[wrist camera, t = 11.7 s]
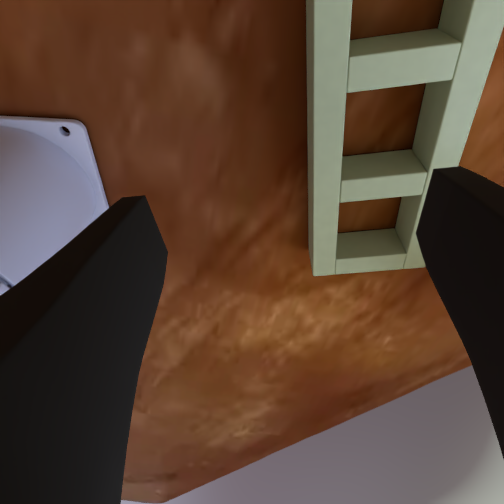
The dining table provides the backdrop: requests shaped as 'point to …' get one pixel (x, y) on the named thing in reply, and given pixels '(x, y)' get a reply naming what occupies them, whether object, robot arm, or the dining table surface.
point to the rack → (394, 162)
